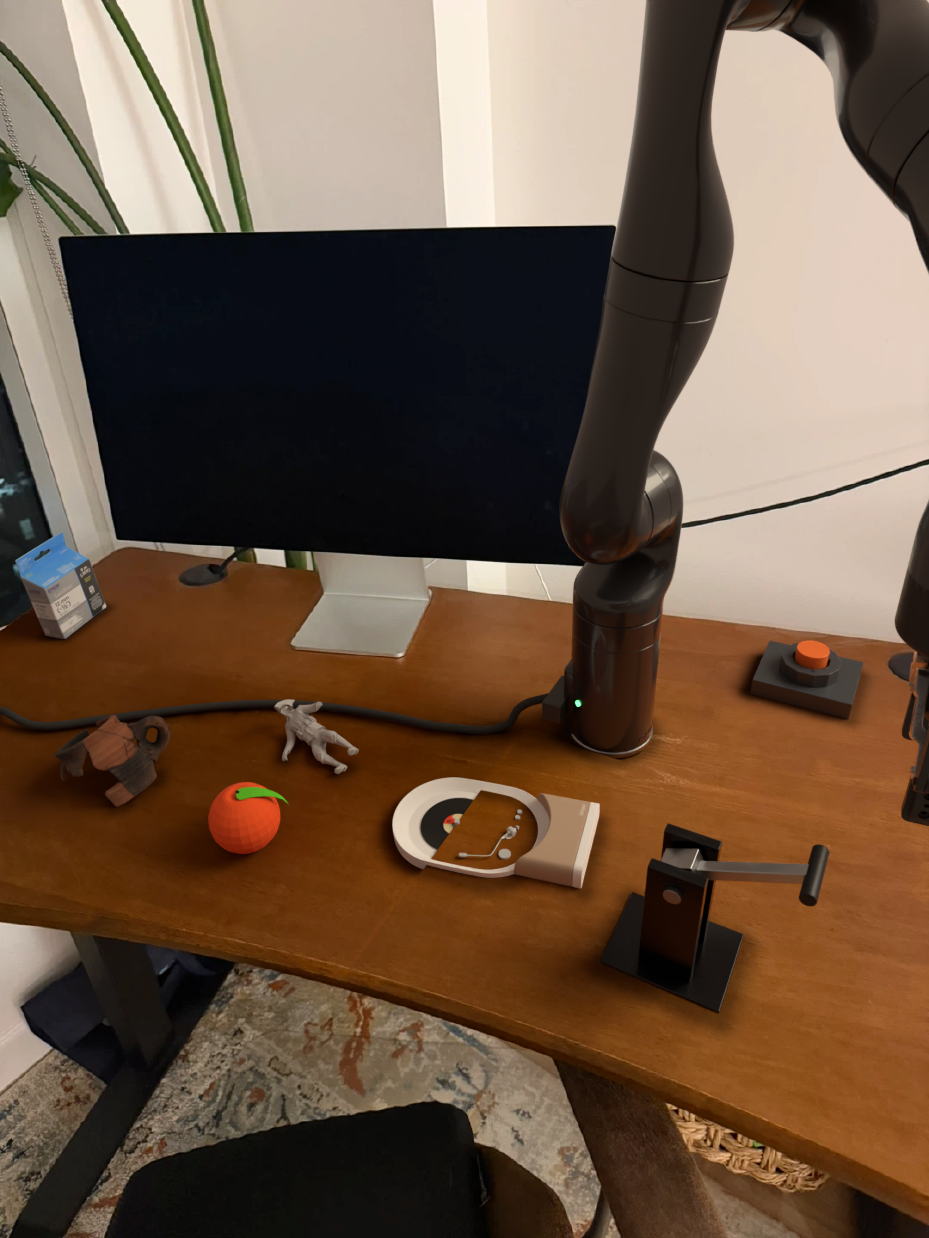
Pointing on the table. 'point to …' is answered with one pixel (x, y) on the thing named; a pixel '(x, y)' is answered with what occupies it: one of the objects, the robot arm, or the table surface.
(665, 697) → the table surface
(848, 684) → the button box
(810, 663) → the button
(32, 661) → the table surface
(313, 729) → the soldier figure
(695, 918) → the bracket
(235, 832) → the clementine
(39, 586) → the label tape box
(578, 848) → the record player
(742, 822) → the table surface
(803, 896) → the lever
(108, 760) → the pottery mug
